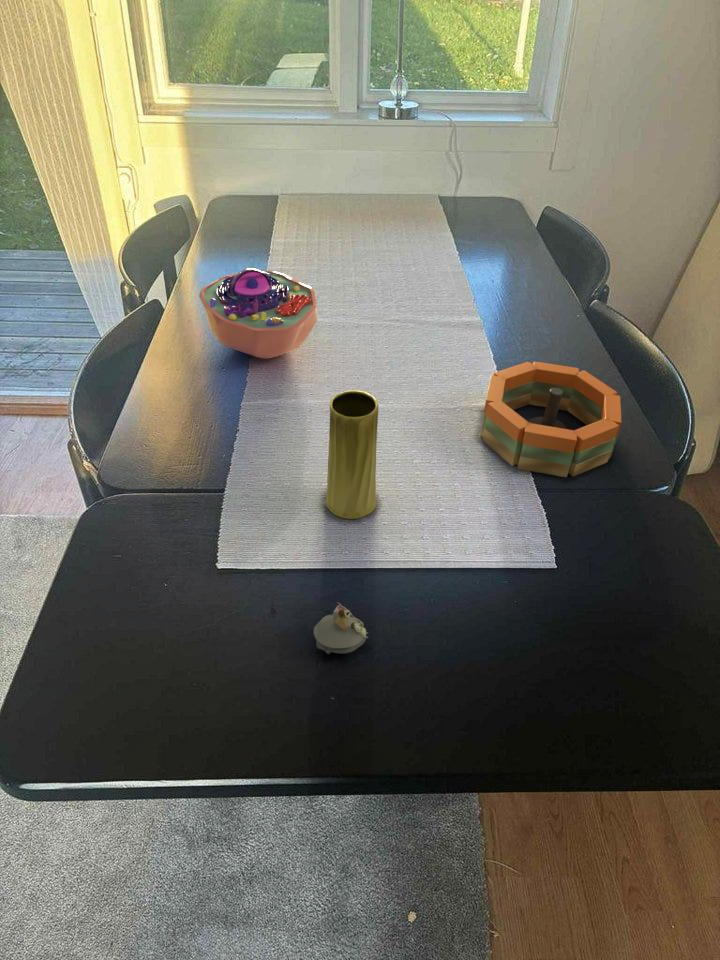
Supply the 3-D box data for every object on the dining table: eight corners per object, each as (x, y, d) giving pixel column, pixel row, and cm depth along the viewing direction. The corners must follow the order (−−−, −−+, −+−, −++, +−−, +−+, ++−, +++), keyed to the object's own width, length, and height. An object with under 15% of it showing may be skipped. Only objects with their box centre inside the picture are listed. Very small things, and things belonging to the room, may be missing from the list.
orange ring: (644, 425, 90) (649, 413, 89) (545, 466, 84) (549, 453, 82) (554, 364, 101) (557, 352, 100) (460, 395, 94) (462, 382, 93)
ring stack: (636, 449, 93) (652, 406, 88) (540, 491, 86) (552, 446, 82) (549, 387, 104) (559, 345, 99) (457, 419, 97) (464, 376, 92)
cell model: (228, 389, 101) (220, 318, 93) (194, 326, 114) (185, 259, 107) (337, 366, 106) (337, 298, 99) (292, 308, 120) (289, 244, 112)
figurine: (311, 660, 67) (310, 621, 63) (316, 622, 70) (315, 583, 66) (366, 663, 67) (369, 624, 63) (368, 626, 70) (371, 586, 66)
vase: (315, 505, 83) (313, 407, 74) (345, 478, 87) (347, 381, 77) (357, 527, 80) (361, 428, 71) (386, 498, 84) (393, 400, 75)
